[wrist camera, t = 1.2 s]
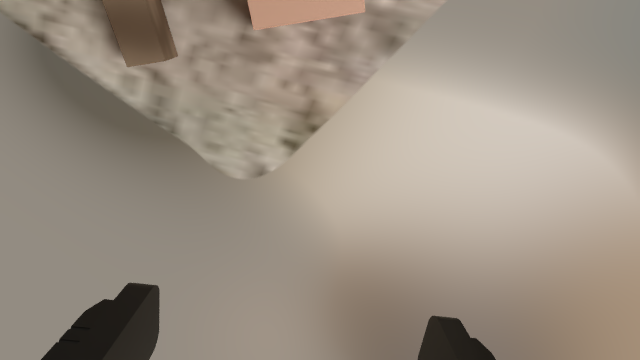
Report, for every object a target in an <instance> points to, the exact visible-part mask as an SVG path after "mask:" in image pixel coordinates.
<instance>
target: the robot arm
mask: <svg viewBox="0 0 640 360" xmlns="http://www.w3.org/2000/svg"><path fill="white" fill-rule="evenodd" d="M158 334H159V288H158V286H157V285H148V284H139V283H128V284H127V285H126V286H125V287H124V289H123V290H122V291H121V292H120V293H119V295H118V296H117V297H116V298H115V299H114V300H107V299H104V300H102V301H101V302H99V303H98V304H96V305H94V306H93V307H91V308H89V309H88V310H86V311H85V312H84V313H83V314H82V315H81V316H80V317H79V318H78V319H77V320H76V322H75V323H74V324H73V325H72V326H71V329H69V330H67V331H66V333H65V334H64V335H63V336H62V337H61V338H60V340H59V342H57V343H56V344H55V345H54V346H53V347H52V348H51V349H50V350H49V351H48V352H47V354H46V355H45V356H44V357H43V358H42V359H41V360H149V359H150V357H151V355H152V353H153V351H154V349H155V346H156V343H157V339H158ZM418 360H496V359H495V358H494V356H493V355H492V353H491V352H490V351H489V350H488V349H487V348H486V347H485V346H484V345H483V344H482V343H481V342H479V341H478V340H477V339H476V338H470V336H469V334H468V333H467V331H466V329H465V328H464V326H463V324H462V323H461V321H460V320H459V319H457V318H450V317H440V316H432V317H431V318H430V319H429V322H428V325H427V328H426V332H425V335H424V338H423V342H422V345H421V349H420V352H419V355H418Z"/></svg>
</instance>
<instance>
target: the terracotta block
mask: <svg viewBox="0 0 640 360" xmlns="http://www.w3.org/2000/svg"><path fill="white" fill-rule="evenodd" d="M247 1H248V6H249V10H250V15H251V20H252V24H253V29H254V30H259V29H265V28H271V27H277V26H283V25H289V24H295V23H301V22H308V21H314V20H320V19H326V18H332V17H338V16H344V15H350V14H357V13H363V12H365V4H364V0H247Z"/></svg>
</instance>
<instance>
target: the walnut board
mask: <svg viewBox="0 0 640 360" xmlns="http://www.w3.org/2000/svg"><path fill="white" fill-rule="evenodd" d="M102 2H103V4H104V7H105V10H106V12H107V15H108V17H109V20H110V23H111V25H112V28H113V31H114V33H115V36H116V39H117V41H118V44H119V47H120V49H121V52H122V55H123V57H124V60H125V63H126V65H127V67H131V66H137V65H143V64H150V63H156V62H162V61H166V60H169V59H172V58H174V57H177V56H178V54H177V51H176V48H175V45H174V41H173V38H172V35H171V32H170V28H169V25H168V22H167V19H166V16H165V12H164V9H163V6H162V3H161V0H102Z"/></svg>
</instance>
